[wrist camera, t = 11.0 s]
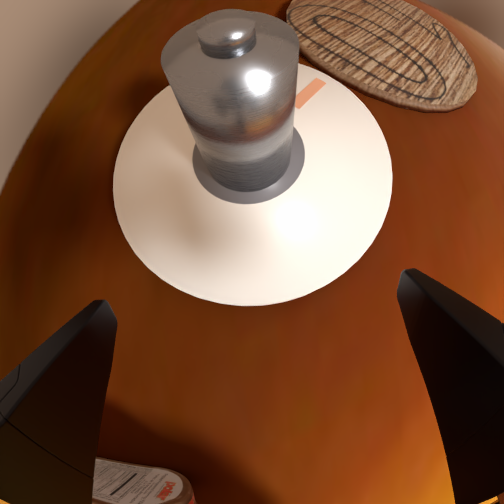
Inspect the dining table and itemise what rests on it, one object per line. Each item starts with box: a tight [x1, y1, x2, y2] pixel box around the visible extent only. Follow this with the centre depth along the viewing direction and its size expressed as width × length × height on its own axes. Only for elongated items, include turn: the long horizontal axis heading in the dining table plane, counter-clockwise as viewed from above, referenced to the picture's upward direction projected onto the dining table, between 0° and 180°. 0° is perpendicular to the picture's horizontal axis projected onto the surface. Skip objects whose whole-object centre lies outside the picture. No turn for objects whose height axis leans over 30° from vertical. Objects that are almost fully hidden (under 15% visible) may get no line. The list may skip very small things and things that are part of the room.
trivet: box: [286, 0, 477, 113], centre depth 25 cm, size 25×25×2 cm
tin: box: [92, 457, 197, 504], centre depth 14 cm, size 15×3×8 cm, turn 97°
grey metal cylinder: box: [161, 9, 299, 192], centre depth 14 cm, size 6×6×11 cm
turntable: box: [113, 63, 392, 306], centre depth 21 cm, size 21×21×2 cm
